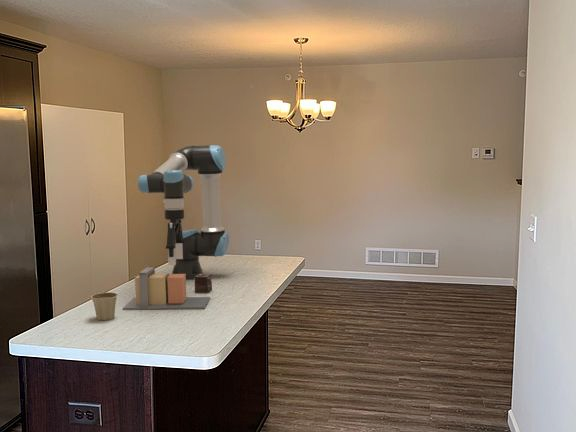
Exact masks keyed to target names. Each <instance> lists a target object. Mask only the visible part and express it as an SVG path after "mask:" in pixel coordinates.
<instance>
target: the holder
mask: <svg viewBox="0 0 576 432" xmlns="http://www.w3.org/2000/svg"><path fill="white" fill-rule="evenodd" d="M169 275H170V273H156V267H155V266H146V267H145V268H144V269H142V270H141V271H140V272H138V275H137V276H135V277H134V285H135V286H134V287H135V297H133V298H132V299H131V300H130V301H129V302H128V303H127V304H125V305H124V306H123V307H122V311H141V310H142V311H155V310H156V311H157V310H159V311H163V310H170V311H171V310H178V311H179V310H205V309H206V308H207V305H208V304H209V302H210V300H211V296H186V300H185V302H184V303H178V304H168V288H167V277H168V276H169Z"/></svg>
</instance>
